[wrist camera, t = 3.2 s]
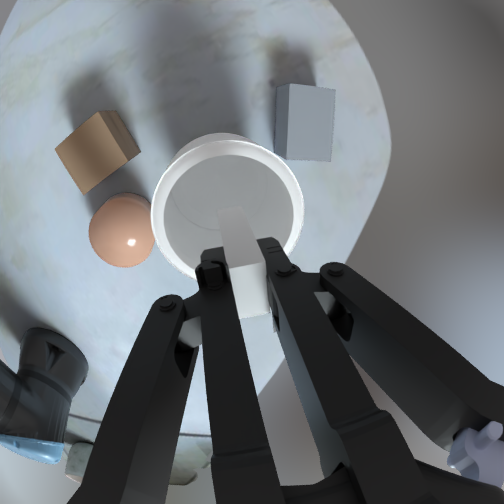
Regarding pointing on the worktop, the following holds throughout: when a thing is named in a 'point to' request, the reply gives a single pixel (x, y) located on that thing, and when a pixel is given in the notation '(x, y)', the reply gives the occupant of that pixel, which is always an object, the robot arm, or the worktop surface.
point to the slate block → (304, 122)
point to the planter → (78, 461)
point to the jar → (223, 197)
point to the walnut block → (97, 149)
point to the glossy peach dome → (122, 230)
